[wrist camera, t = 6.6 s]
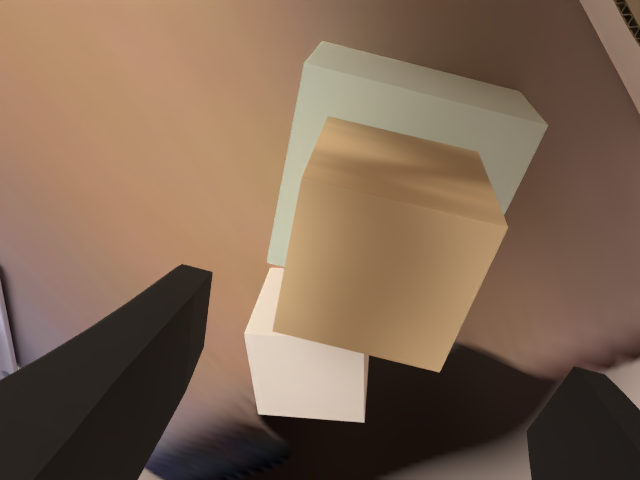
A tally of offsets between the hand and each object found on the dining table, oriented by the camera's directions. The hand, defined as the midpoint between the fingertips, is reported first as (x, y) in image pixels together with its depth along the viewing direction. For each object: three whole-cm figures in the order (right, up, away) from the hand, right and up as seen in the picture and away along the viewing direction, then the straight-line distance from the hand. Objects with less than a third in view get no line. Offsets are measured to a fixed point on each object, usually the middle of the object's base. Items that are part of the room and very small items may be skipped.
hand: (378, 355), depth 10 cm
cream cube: (-1, -1, +13) cm, 13 cm away
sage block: (+2, +6, +9) cm, 11 cm away
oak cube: (+1, +3, +6) cm, 7 cm away
